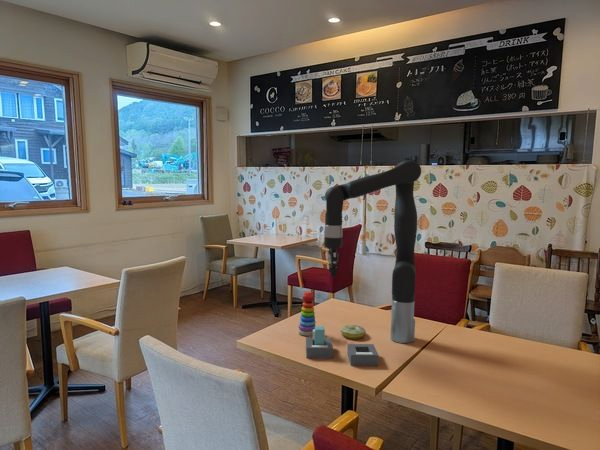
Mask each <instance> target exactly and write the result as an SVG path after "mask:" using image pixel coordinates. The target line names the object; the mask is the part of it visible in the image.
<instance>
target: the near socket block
mask: <svg viewBox="0 0 600 450" xmlns="http://www.w3.org/2000/svg"><path fill="white" fill-rule="evenodd" d="M346 355H347V357H348V361H349V364H350V366H351V367H352V366H355V367H360V366H361V367H366V366H367V367H371V366H372V367H376V366H377V367H379V356H380V355H379V354H378V350H377V348H376V346H375V345H374V344H373V343H371V344H370V343H347V354H346Z"/></svg>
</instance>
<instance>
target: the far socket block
mask: <svg viewBox="0 0 600 450" xmlns="http://www.w3.org/2000/svg"><path fill="white" fill-rule="evenodd" d="M314 342H315V339H313V337H305V354H306V356H305V357H306V359H333V358H334V346H333V342H332V338H331V337H325V340H324V345H314Z"/></svg>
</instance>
